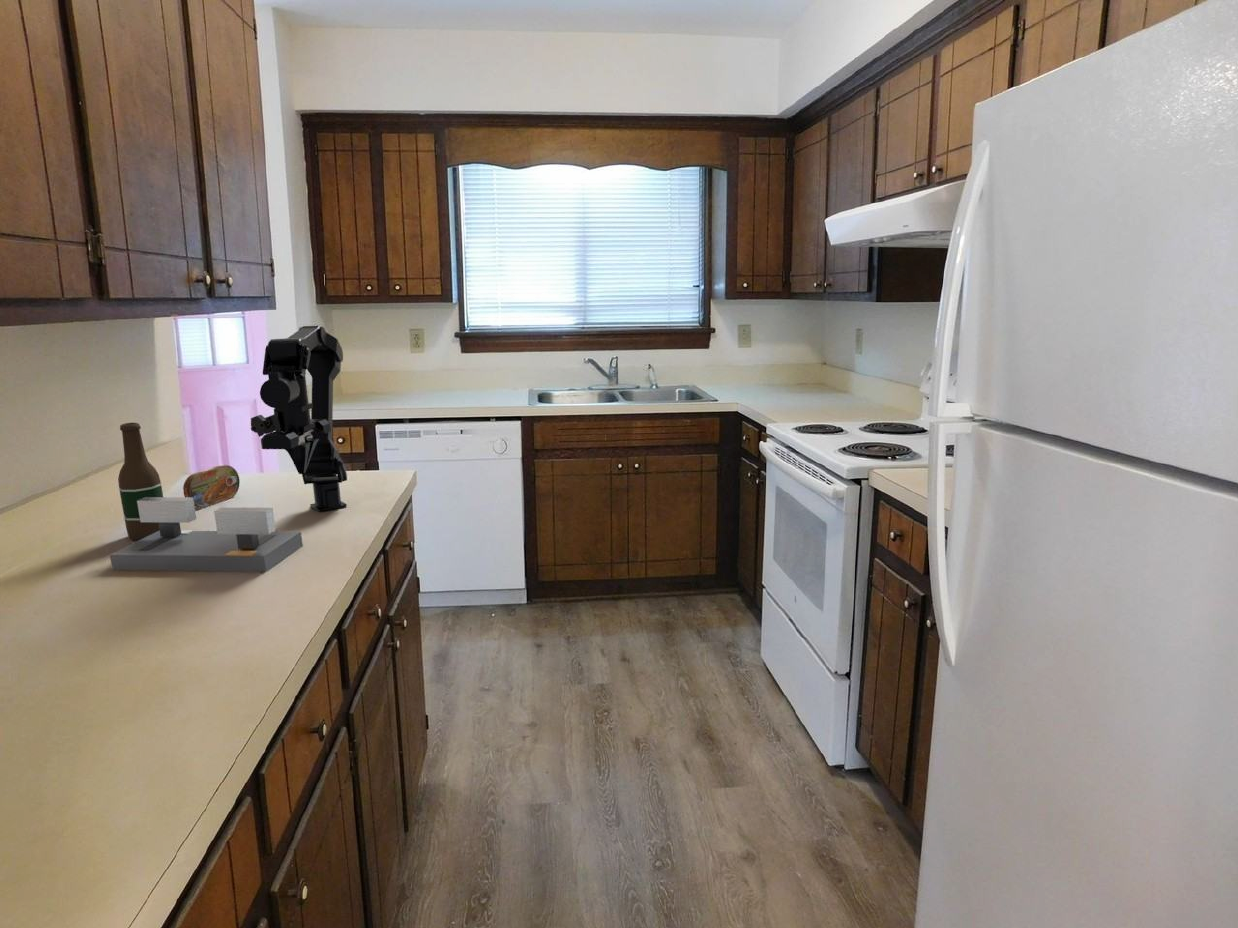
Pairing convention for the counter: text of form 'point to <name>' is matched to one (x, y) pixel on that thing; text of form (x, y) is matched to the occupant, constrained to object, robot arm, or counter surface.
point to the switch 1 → (167, 513)
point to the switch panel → (205, 552)
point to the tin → (212, 485)
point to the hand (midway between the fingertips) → (302, 473)
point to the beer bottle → (136, 482)
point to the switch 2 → (245, 524)
